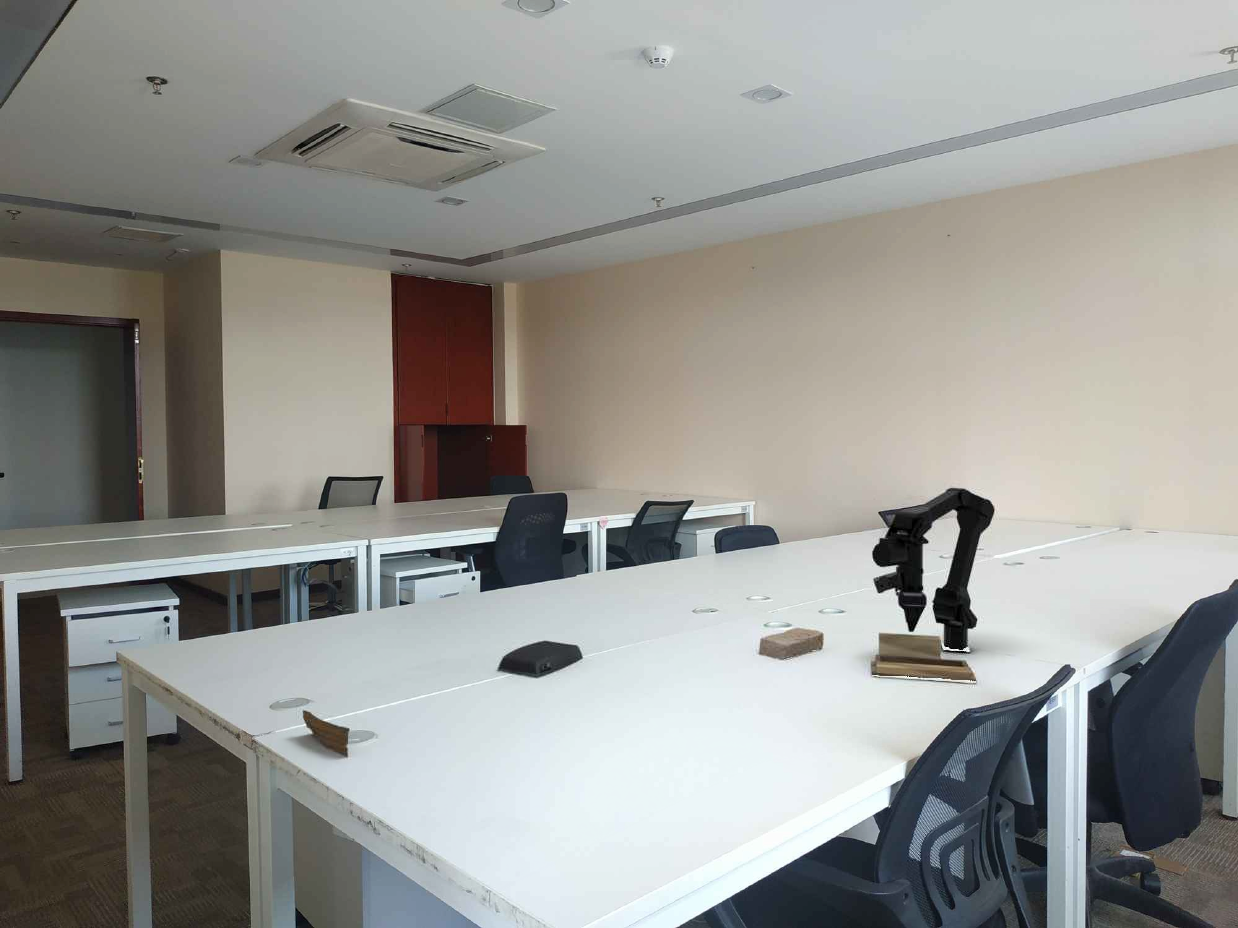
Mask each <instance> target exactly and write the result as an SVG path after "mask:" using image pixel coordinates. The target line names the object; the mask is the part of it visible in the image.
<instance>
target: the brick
mask: <svg viewBox="0 0 1238 928" xmlns="http://www.w3.org/2000/svg"><path fill="white" fill-rule="evenodd" d="M824 636H825V635H824V633H823V632H822V631H819V630H816V629H815V630H814V629H810V628H808V629H807V628H803V627H802V628H800V627H795V628H791V629H788V630H786V631H783V632H779V633H774V634H771V635H770V634H769V635H767V636H764V637H760V639H759V640H760V642H759V648H758V653H759V654H760V655H761V656H764V655H766V657H769V656H770V658H773V657H774V658H773V659H776V658H778V659H777V660H779V659H780V661H785V660H784V659H786V660H788V659H787V658H790V659H792V658H791V657H793V658H795V656H796V657H798V656H797V655H800V656H802V655H801V654H804V655H805V653H807V654H809V653H808V652H810V653H812V652H811V651H813V650H817V649H819V650H821V649H822V648H823V647H824V639H825V638H824ZM817 651H818V650H817Z"/></svg>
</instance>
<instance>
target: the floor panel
mask: <svg viewBox="0 0 1238 928" xmlns="http://www.w3.org/2000/svg"><path fill="white" fill-rule="evenodd" d="M874 656H875V660H871V661H870V670H872V671H871V676H872V675H879V676H907V677H908V676H909V677H918V678H921V677H922V678H942V679H951V680H970V681H971V680H972V681H976V682H977V678H976V676H975V674H974V672H973V670H972V667H970V666H969V664H968V662H967V661H966V660H965V659H964V660H963V659H962V660H961V659H950V658H949V659H948V658H947V659H945V658H940V659H933V658H918V657H902V656H886V655H879V654H875V655H874Z"/></svg>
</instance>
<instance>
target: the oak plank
mask: <svg viewBox="0 0 1238 928" xmlns="http://www.w3.org/2000/svg"><path fill="white" fill-rule="evenodd" d="M941 641H942V639H941V636H940V635H928V634H927V635H924V634H923V635H922V634H907V633H891V632H890V633H889V632H878V655H886V656H902V657H918V658H933V659H941V656H942V655H941V652H942V651H941V649H942V647H941V643H942V642H941Z"/></svg>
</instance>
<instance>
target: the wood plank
mask: <svg viewBox="0 0 1238 928" xmlns="http://www.w3.org/2000/svg"><path fill="white" fill-rule="evenodd" d="M302 719H303V720H304V723H305V726H306V728H308V729H309V730H310V731H311V732H312V736H313V738H315V739H316V740H317V741H318V742H319V743H320V744H321V745H323V746H324V747H325V748H327V749H328V750H332V751H334V752H335V753H337V754H340V755H341V756H344V757H347V758H349V755H348V754H349V753H348V752H349V749H348V747H347V745H348V744H349V732H350V730H351V729H350V728H349V727H346V726H343V725H342V726H339V725H337V724H334V723H331V722H328V721H326V720H322V719H320V718H318V717H317V716H315V715H314V714H312V712H310V711H309V710H302Z"/></svg>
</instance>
